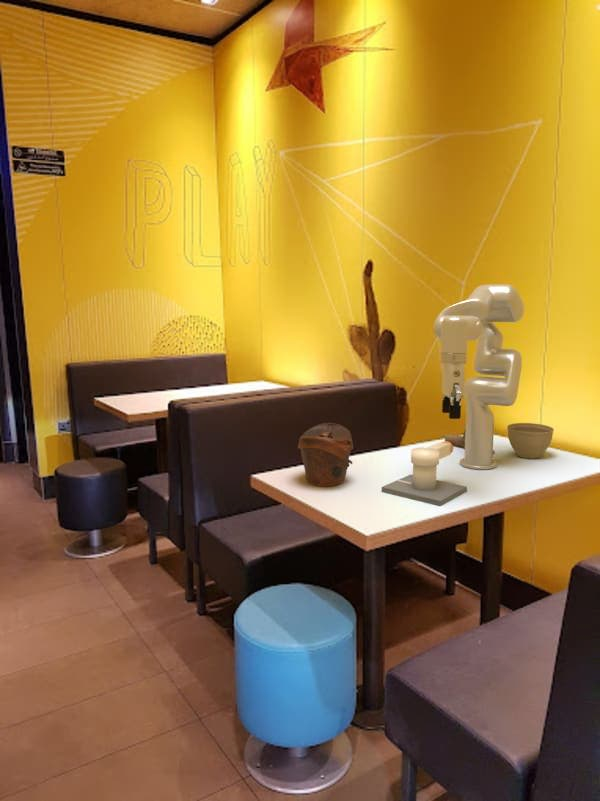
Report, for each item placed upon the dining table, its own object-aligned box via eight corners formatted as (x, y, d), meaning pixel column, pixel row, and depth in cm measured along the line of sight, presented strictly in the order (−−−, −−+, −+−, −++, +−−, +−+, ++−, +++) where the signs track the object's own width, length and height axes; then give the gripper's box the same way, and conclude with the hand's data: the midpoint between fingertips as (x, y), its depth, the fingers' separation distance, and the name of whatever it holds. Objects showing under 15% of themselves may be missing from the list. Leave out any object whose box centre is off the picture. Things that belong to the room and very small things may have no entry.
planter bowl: (497, 455, 224) (499, 427, 222) (519, 448, 235) (520, 421, 233) (539, 464, 212) (540, 434, 210) (559, 455, 223) (561, 427, 221)
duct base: (410, 478, 196) (410, 452, 195) (466, 491, 183) (468, 463, 182) (381, 491, 184) (381, 463, 182) (440, 506, 171) (441, 475, 169)
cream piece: (430, 469, 176) (430, 454, 175) (405, 464, 181) (406, 450, 181) (458, 456, 189) (459, 443, 189) (435, 452, 195) (435, 439, 194)
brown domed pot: (312, 493, 182) (312, 436, 179) (289, 476, 200) (289, 423, 198) (364, 487, 189) (365, 431, 186) (336, 470, 207) (337, 420, 204)
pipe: (451, 441, 245) (452, 418, 244) (483, 450, 232) (484, 425, 230) (440, 444, 242) (441, 420, 240) (472, 452, 228) (473, 427, 227)
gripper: (473, 361, 168) (470, 421, 170) (459, 356, 185) (456, 410, 188) (446, 361, 168) (444, 421, 171) (434, 356, 185) (432, 410, 188)
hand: (450, 415), depth 179 cm, fingers open, 9 cm apart
